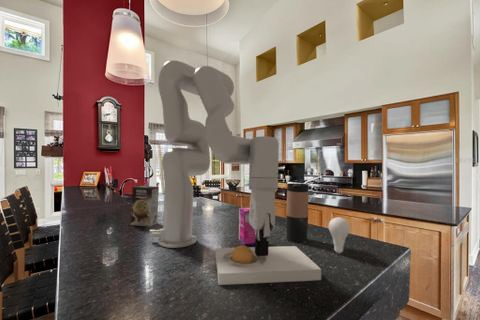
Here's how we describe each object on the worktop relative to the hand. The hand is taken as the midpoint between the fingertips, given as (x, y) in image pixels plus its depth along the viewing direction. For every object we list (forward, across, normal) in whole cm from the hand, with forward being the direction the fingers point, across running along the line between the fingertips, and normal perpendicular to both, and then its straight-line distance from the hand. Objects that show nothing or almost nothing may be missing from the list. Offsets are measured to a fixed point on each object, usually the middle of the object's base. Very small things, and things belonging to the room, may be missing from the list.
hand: (261, 254), depth 62 cm
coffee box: (+4, -47, -40) cm, 62 cm away
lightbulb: (+4, -8, +26) cm, 28 cm away
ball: (+1, 0, -5) cm, 5 cm away
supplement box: (+4, -20, 0) cm, 20 cm away
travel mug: (+4, -22, +18) cm, 29 cm away
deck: (+3, 0, 0) cm, 3 cm away
